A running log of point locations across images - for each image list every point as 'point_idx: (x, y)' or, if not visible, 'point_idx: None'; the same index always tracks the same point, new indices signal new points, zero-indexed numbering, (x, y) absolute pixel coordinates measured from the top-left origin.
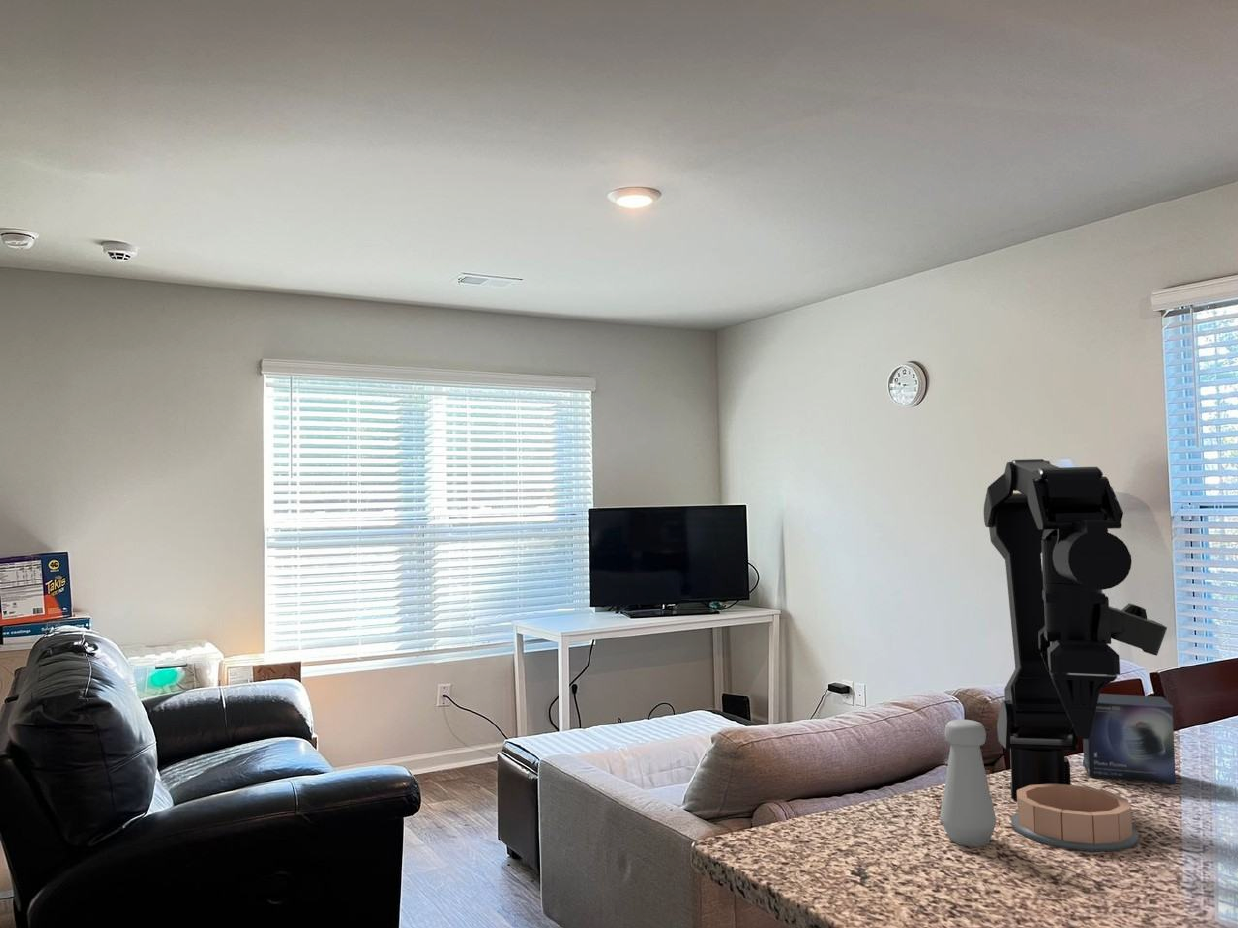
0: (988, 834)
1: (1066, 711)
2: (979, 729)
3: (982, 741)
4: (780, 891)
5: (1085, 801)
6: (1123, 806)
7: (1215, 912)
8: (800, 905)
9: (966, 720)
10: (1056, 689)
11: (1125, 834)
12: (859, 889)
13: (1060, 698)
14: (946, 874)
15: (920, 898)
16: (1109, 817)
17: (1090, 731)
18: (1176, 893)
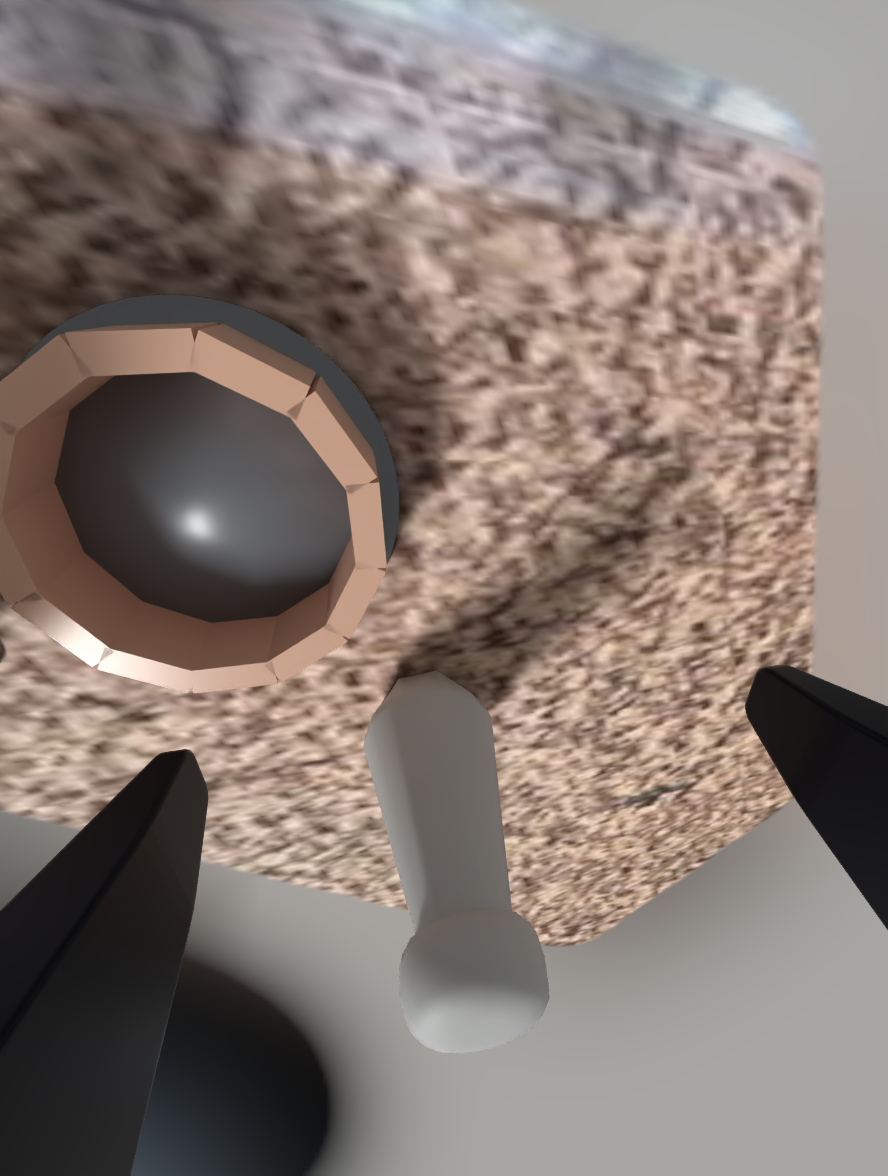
0: (456, 685)
1: (200, 856)
2: (526, 976)
3: (507, 920)
4: (726, 843)
5: (32, 483)
6: (197, 360)
7: (788, 150)
8: (770, 816)
9: (464, 1035)
10: (144, 1112)
11: (275, 352)
12: (711, 782)
13: (172, 991)
14: (630, 704)
15: (739, 715)
16: (339, 420)
17: (836, 687)
18: (665, 245)
